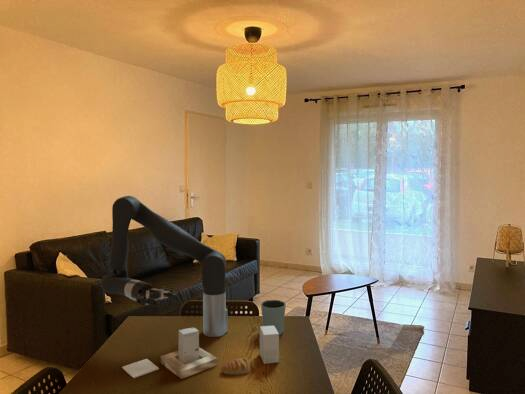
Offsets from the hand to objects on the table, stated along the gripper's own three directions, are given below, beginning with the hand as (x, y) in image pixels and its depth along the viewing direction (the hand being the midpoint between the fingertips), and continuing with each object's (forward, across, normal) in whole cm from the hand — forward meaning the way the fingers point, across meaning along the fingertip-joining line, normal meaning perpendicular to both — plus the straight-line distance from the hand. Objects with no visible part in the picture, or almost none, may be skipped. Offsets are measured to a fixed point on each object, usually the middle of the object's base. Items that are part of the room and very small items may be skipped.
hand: (166, 300), depth 147 cm
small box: (+31, +21, +20) cm, 43 cm away
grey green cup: (+19, +41, +20) cm, 49 cm away
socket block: (+12, 0, +20) cm, 23 cm away
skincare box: (+12, 0, +20) cm, 24 cm away
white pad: (+2, -12, +20) cm, 24 cm away
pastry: (+28, +7, +20) cm, 35 cm away
